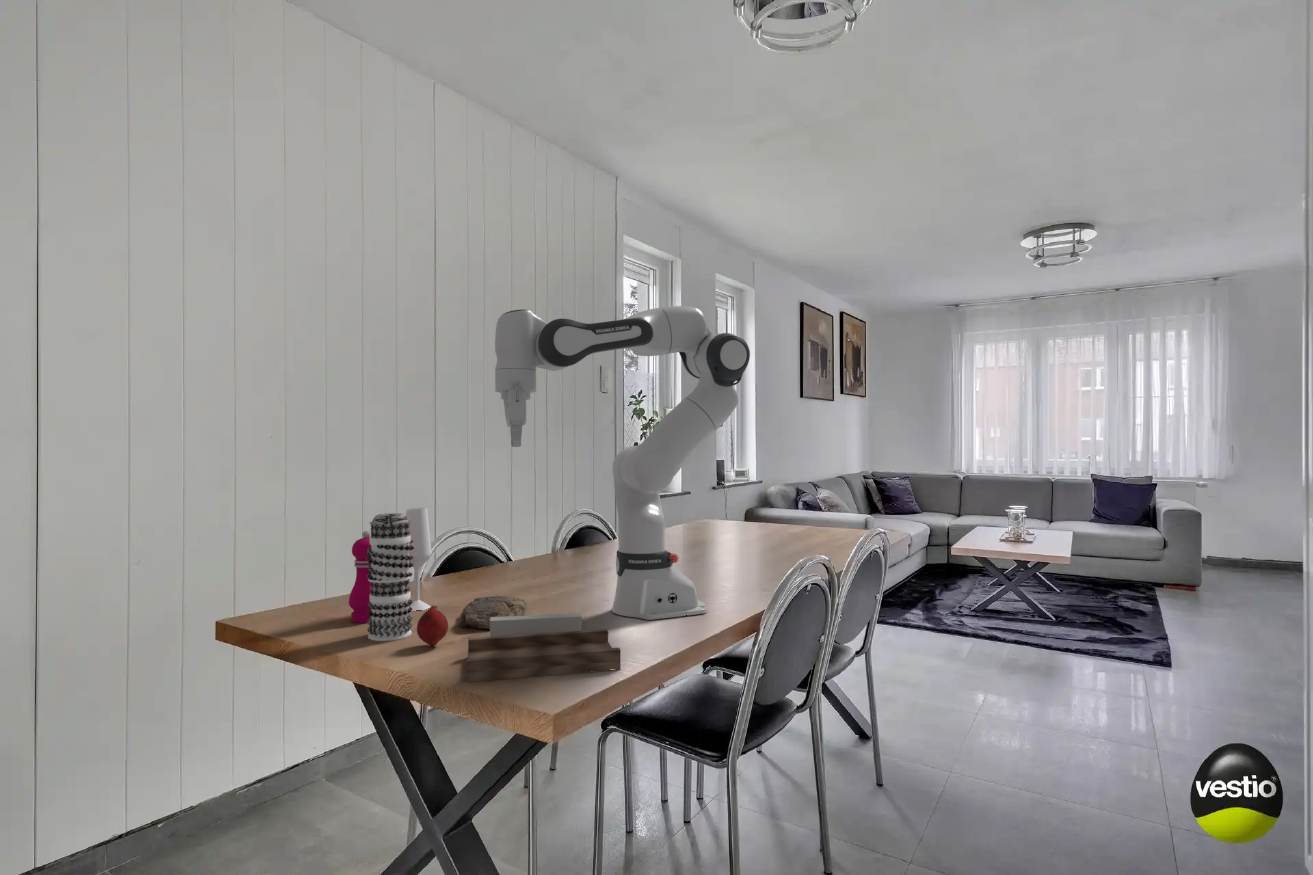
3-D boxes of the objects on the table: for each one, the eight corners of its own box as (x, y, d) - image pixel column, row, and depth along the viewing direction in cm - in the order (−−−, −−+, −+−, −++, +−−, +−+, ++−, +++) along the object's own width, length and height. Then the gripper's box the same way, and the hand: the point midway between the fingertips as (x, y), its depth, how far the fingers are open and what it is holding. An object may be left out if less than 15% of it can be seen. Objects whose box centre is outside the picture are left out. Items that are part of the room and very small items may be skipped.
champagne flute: (436, 608, 167) (436, 508, 168) (408, 612, 163) (408, 510, 163) (424, 603, 172) (424, 506, 173) (397, 607, 168) (397, 508, 168)
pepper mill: (341, 623, 154) (341, 532, 154) (361, 615, 161) (361, 528, 161) (371, 624, 152) (371, 533, 153) (389, 616, 160) (389, 529, 160)
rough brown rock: (504, 634, 145) (533, 610, 165) (503, 611, 145) (533, 589, 165) (440, 634, 147) (477, 610, 167) (439, 611, 147) (476, 589, 167)
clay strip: (580, 637, 143) (580, 612, 143) (581, 641, 140) (581, 616, 140) (490, 642, 140) (490, 617, 140) (490, 646, 137) (490, 620, 137)
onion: (431, 651, 132) (431, 609, 132) (410, 647, 135) (410, 606, 135) (454, 644, 137) (454, 603, 137) (433, 640, 140) (433, 600, 140)
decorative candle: (423, 632, 146) (423, 513, 146) (390, 643, 138) (390, 517, 138) (390, 627, 150) (390, 511, 150) (356, 638, 141) (356, 515, 142)
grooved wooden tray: (606, 646, 135) (606, 628, 135) (620, 669, 122) (620, 649, 122) (468, 656, 129) (468, 638, 129) (466, 681, 116) (466, 660, 116)
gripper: (533, 379, 144) (533, 446, 143) (528, 387, 163) (528, 446, 163) (501, 379, 142) (501, 447, 142) (500, 387, 162) (500, 446, 162)
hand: (516, 446), depth 153 cm, fingers open, 8 cm apart
